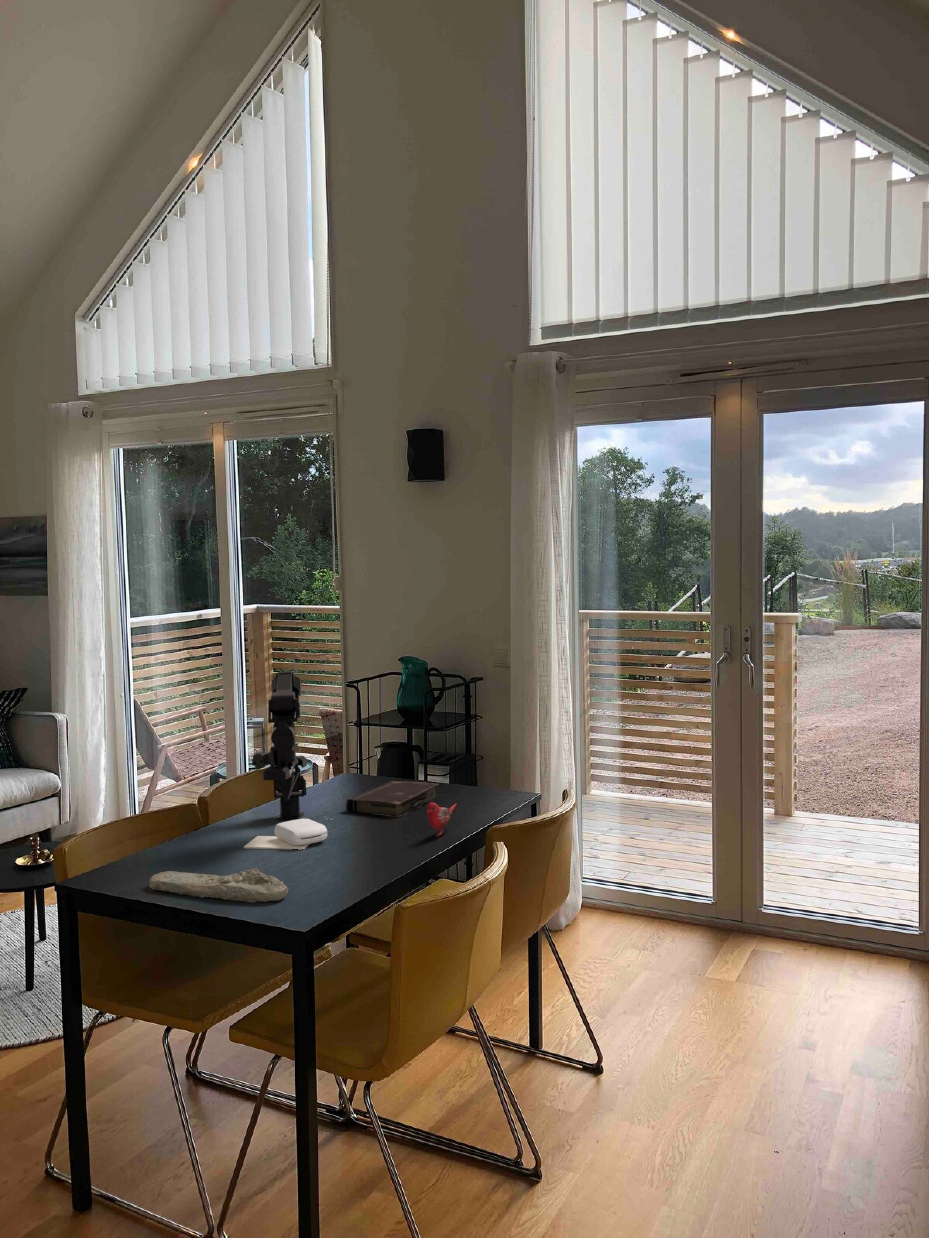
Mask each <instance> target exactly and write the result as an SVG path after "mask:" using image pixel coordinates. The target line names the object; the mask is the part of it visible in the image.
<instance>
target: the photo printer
mask: <svg viewBox="0 0 929 1238" xmlns="http://www.w3.org/2000/svg"><path fill="white" fill-rule="evenodd" d="M273 831H274V832H273V833H274V834H275V835H274V836H277V838H279V839H281V840H283V841H285V842H288V843H290V844H292V845H306V844H309V845H310V844H316V843H319V842H321V841H324V840H325V839H327V838H328V829H327V827H326V826H325V824H322V823H320V822H317V821H314V820H312V819H309V818H299V819H296V820H295V819H291V820H288V821H282V822H279V823H276V825H275V827H274V830H273Z"/></svg>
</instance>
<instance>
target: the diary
mask: <svg viewBox="0 0 929 1238" xmlns="http://www.w3.org/2000/svg"><path fill="white" fill-rule="evenodd" d="M439 785H440V784H439V783H435V782H434V783H432V782H423V781H422V782H421V781H396V780H395V781H394V780H391V781H389V782H386V783H384V784H382V785H380V786H377V787H375V788H371V789H367V791H364V792H361V793H360V794H357V795H354V796H351V797H349V798H346V800H345V809H346V812H347V811H350V812H352V811H353V812H354V811H357V813H359V812H364V813H363V814H367V813H371V814H370V815H374V814H384V815H391V816H390V817H389V818H394V817H396V818H401V817H403V816H402V815H400V814H405V815H407V813H405V812H407V811H412V812H413V810H414V811H416V810H417V809H416V808H418V809H419V808H422V807H421V806H420V805H421V804H424V803H426V802H427V801H430V800H432V799H434V798H435V797H436V787H438V786H439ZM418 806H419V807H418ZM413 808H414V809H413ZM411 809H412V810H411ZM415 809H416V810H415ZM398 815H400V816H401V817H400V816H398Z"/></svg>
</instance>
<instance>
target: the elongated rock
mask: <svg viewBox="0 0 929 1238" xmlns="http://www.w3.org/2000/svg"><path fill="white" fill-rule="evenodd" d="M148 882H149V885H148V886H149V889H150V890H153V891H154V890H156V891H162V892H168V893H171V894H178V895H180V896H183V894H184V896H185V895H187V896H191V897H196V896H197V898H203V899H205V898H204V897H207V898H206V899H209V898H208V897H210V898H212V899H213V898H214V899H215V898H216V899H222V900H224V901H232V902H235V901H239V902H246V903H254V904H255V903H257V902H264V903H265V902H269V901H270V902H273V901H280V900H283V899H284V898H285V897H286V896H287V895H288V893H289V888H288V887H287V885H286V884H284V882H283V880H282V881H281V880H279V878H277V877H275V876H273V875H267V874H265V873H263V872H261V871H260V870H259V869H258V868H251V869H246V870H245V871H241V870H240V871H239V872H237V873H230V874H228V875H226V874H225V875H217V874H206V873H202V874H201V873H194V872H185V871H183V872H180V871H174V870H171V871H170V870H165V871H161V872H158V873H156V874H153V875H152V876H151V877H150V878H149V881H148ZM151 888H152V889H151Z"/></svg>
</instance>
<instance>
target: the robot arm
mask: <svg viewBox="0 0 929 1238" xmlns="http://www.w3.org/2000/svg"><path fill="white" fill-rule="evenodd" d="M301 681H302V680H301V677H298V676H297V675H295V672H293V671H278V672H276V673H275V676H274V677H273V678H272V679H271V681H270V682H271V683H270V685H271V690H270V691H271V695H270V699H268V700H267V701H268V706H267V707H268V708H267V709H268V711H267V712H268V713H267V714H268V715H267V721H268V722H267V723H268V724H273V725H272V732H271V736H270V739H271V743H272V746H271V747H270V749H269V751H267V752H264V753H261V752H258V753H255V754H253V756H252V759H251V765H252V766H253V767H254V768H255V770H256V771H258V770H260V769H261V768H264V767H267V766H269V767H267V768H265V769H264V770H263V771H262V780H263V781H273V795H274V799H278V798H279V814H278V815H277V816H276V817H275V819H276V820H297V819H301V817H302V816H303V815H305V812H302V811H301V803H300V801H301V799H300V797H305V796H307V780H306V779H305V777H304V775H302V770H301V768H302V769H303V768H305V767H307V766H308V761H307V760H308V759H307V758H306V757H305V756H304V755H297V749H298V748H299V743H296V730H295V729H296V726H295V725H296V724H295V723H296V722H298V721H299V719H300V718H301V702H300V696H302V682H301ZM300 767H301V768H300Z"/></svg>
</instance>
